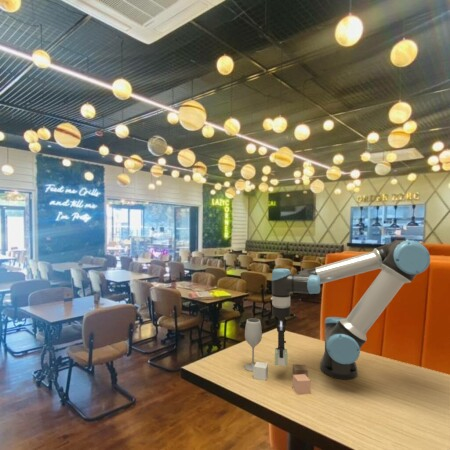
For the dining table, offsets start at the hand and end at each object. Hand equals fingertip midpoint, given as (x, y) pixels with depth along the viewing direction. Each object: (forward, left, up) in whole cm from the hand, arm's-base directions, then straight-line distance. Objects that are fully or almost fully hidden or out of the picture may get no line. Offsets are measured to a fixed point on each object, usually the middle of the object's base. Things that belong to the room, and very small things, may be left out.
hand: (281, 361), depth 126 cm
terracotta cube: (-8, +9, -6) cm, 13 cm away
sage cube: (0, 0, 0) cm, 0 cm away
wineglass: (+12, -6, -7) cm, 15 cm away
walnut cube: (-8, 0, -6) cm, 10 cm away
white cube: (+8, +1, -6) cm, 11 cm away
